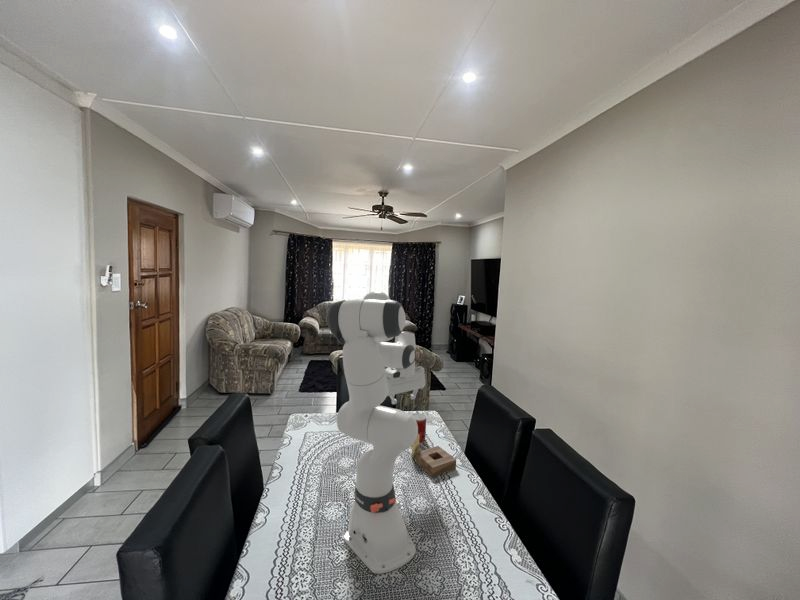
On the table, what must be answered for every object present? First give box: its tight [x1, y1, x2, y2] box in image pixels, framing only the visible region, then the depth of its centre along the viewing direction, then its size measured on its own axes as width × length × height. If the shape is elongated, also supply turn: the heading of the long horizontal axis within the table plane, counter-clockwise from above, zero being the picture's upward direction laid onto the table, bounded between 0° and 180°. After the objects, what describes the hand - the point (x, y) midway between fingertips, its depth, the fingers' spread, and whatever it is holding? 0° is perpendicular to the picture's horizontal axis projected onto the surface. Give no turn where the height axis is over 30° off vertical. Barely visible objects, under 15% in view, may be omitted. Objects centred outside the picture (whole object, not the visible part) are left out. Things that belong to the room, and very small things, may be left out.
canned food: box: [410, 412, 427, 443], centre depth 158 cm, size 8×8×11 cm
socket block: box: [414, 445, 457, 478], centre depth 136 cm, size 12×12×4 cm
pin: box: [411, 434, 420, 460], centre depth 142 cm, size 3×3×10 cm
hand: (403, 401), depth 138 cm, fingers open, 8 cm apart
